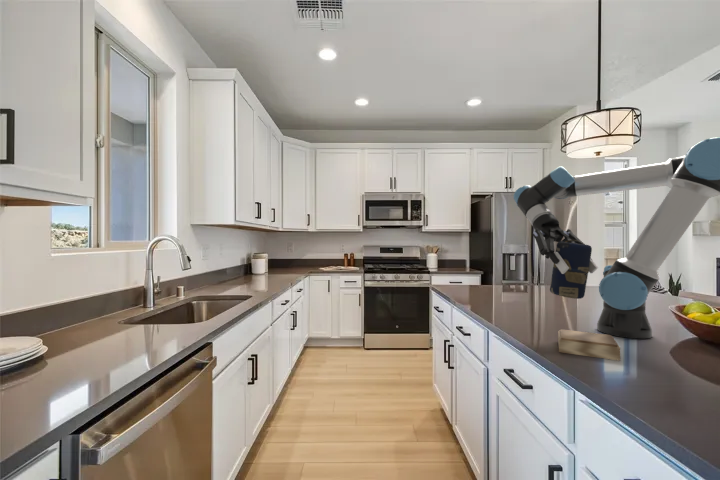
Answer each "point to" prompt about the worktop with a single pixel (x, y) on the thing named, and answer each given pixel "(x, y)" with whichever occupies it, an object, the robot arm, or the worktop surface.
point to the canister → (571, 270)
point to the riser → (588, 344)
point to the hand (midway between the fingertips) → (580, 270)
